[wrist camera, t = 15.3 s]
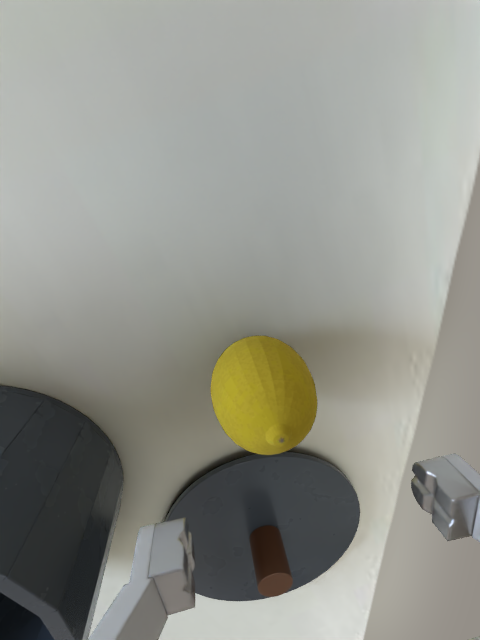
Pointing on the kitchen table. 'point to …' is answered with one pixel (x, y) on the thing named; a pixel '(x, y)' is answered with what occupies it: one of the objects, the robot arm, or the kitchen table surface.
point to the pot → (53, 516)
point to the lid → (267, 524)
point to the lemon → (263, 395)
